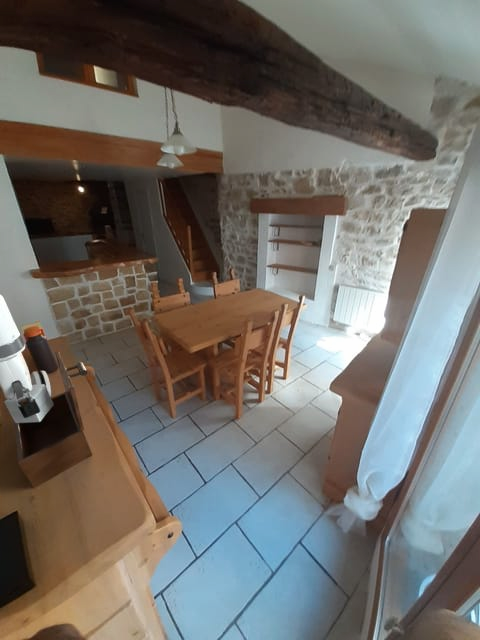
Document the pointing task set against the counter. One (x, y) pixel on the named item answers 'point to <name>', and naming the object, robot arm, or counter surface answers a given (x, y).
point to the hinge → (41, 380)
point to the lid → (71, 385)
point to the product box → (42, 401)
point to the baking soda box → (32, 326)
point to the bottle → (40, 350)
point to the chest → (51, 443)
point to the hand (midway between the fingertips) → (30, 403)
